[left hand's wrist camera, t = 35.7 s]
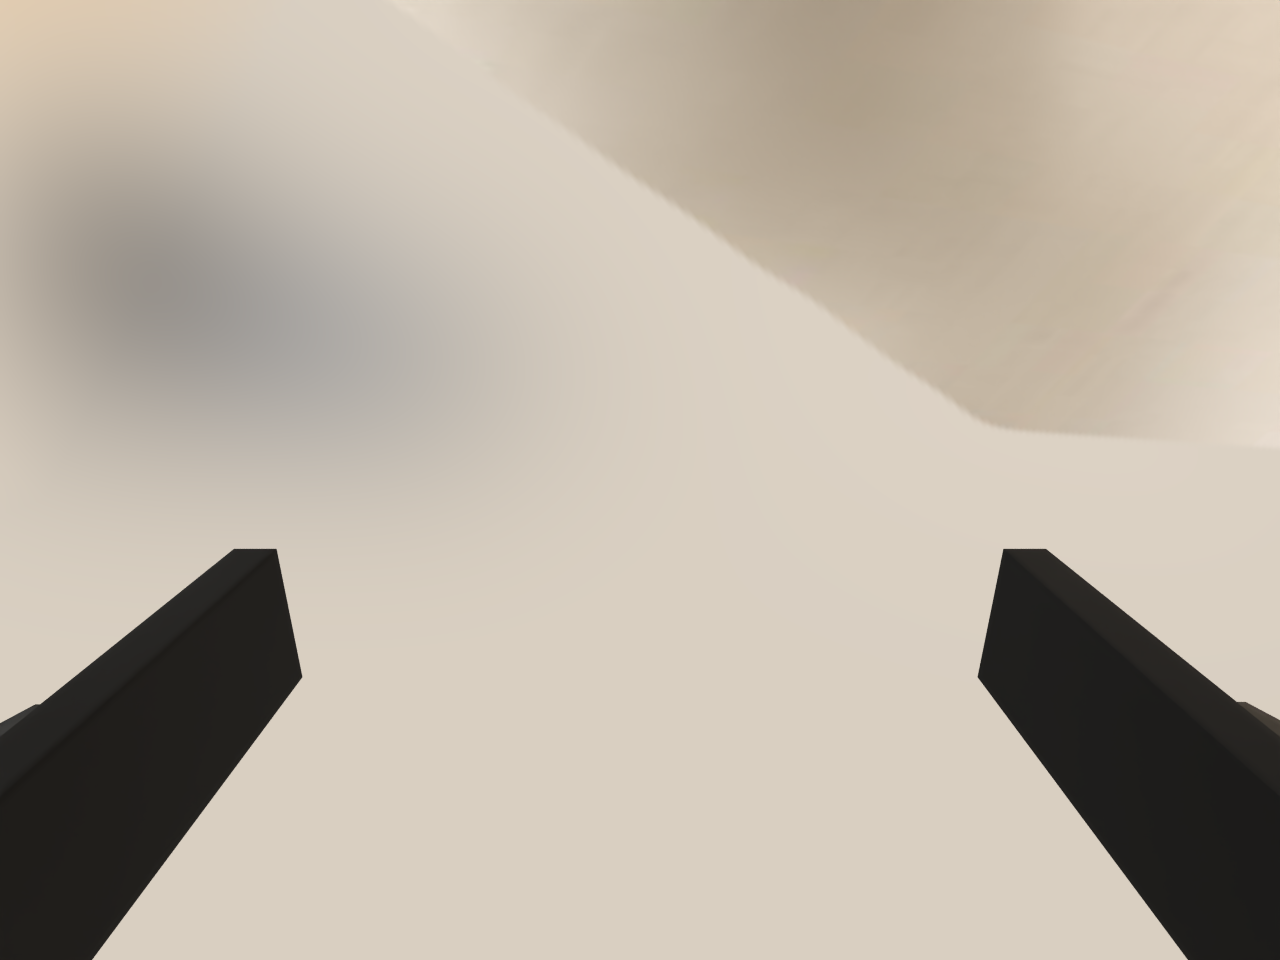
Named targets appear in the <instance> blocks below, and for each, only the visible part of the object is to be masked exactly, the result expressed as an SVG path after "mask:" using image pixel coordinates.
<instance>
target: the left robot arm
mask: <svg viewBox="0 0 1280 960" xmlns="http://www.w3.org/2000/svg"><path fill="white" fill-rule="evenodd" d="M301 678H302V673H301V668H300V663H299V658H298V653H297V648H296V643H295V638H294V633H293V628H292V624H291V619H290V613H289V609H288V604H287V599H286V594H285V589H284V584H283V579H282V574H281V569H280V564H279V559H278V554H277V549H233V550H232V551H231V552H230V553H228V554H227V555H226V556H225V557H223V558H222V559H221V560H220V561H218V562H217V563H216V564H215V565H213V566H212V567H211V568H210V569H208V570H207V571H206V572H205V573H204V574H202V575H201V576H200V577H198V578H197V579H196V580H195V581H194V582H192V583H191V584H190V585H189V586H187V587H186V588H185V589H184V590H182V591H181V592H180V593H179V594H177V595H176V596H175V597H174V598H172V599H171V600H170V601H169V602H167V603H166V604H165V605H164V606H162V607H161V608H160V609H159V610H157V611H156V612H155V613H154V614H152V615H151V616H150V617H149V618H147V619H146V620H145V621H144V622H142V623H141V624H140V625H139V626H137V627H136V628H135V629H134V630H133V631H131V632H130V633H129V634H127V635H126V636H125V637H124V638H122V639H121V640H120V641H119V642H118V643H116V644H115V645H114V646H113V647H111V648H110V649H109V650H108V651H106V652H105V653H104V654H103V655H101V656H100V657H99V658H98V659H96V660H95V661H94V662H93V663H91V664H90V665H89V666H88V667H86V668H85V669H84V670H83V671H81V672H80V673H79V674H78V675H76V676H75V677H74V678H73V679H71V680H70V681H69V682H68V683H66V684H65V685H64V686H63V687H61V688H60V689H59V690H58V691H56V692H55V693H54V694H53V695H52V696H50V697H49V698H48V699H46V700H45V701H44V702H43V703H41V704H40V705H33V706H32V707H30V708H28V709H26V710H24V711H22V712H20V713H18V714H17V715H15V716H13V717H11V718H9V719H7V720H5V721H4V722H2V723H0V960H92V959H93V958H94V956H95V955H96V954H97V952H98V951H99V950H100V948H101V947H102V946H103V944H104V943H105V942H106V940H107V939H108V938H109V936H110V935H111V934H112V932H113V931H114V930H115V928H116V927H117V926H118V924H119V923H120V921H121V920H122V919H123V917H124V916H125V915H126V913H127V912H128V911H129V909H130V908H131V907H132V905H133V904H134V903H135V901H136V900H137V899H138V897H139V896H140V895H141V893H142V892H143V890H144V889H145V888H146V887H147V885H148V884H149V883H150V881H151V880H152V878H153V877H154V876H155V874H156V873H157V872H158V870H159V869H160V868H161V866H162V865H163V864H164V862H165V861H166V860H167V858H168V857H169V856H170V854H171V853H172V852H173V850H174V849H175V848H176V846H177V845H178V843H179V842H180V841H181V839H182V838H183V837H184V835H185V834H186V833H187V831H188V830H189V829H190V827H191V826H192V825H193V823H194V822H195V821H196V819H197V818H198V817H199V815H200V814H201V813H202V811H203V810H204V809H205V807H206V806H207V804H208V803H209V802H210V801H211V799H212V798H213V796H214V795H215V794H216V792H217V791H218V790H219V788H220V787H221V786H222V784H223V783H224V782H225V780H226V779H227V778H228V776H229V775H230V774H231V772H232V771H233V770H234V768H235V767H236V766H237V764H238V763H239V762H240V760H241V759H242V758H243V756H244V755H245V753H246V752H247V751H248V749H249V748H250V747H251V745H252V744H253V743H254V741H255V740H256V739H257V737H258V736H259V735H260V733H261V732H262V731H263V729H264V728H265V727H266V725H267V724H268V723H269V721H270V720H271V719H272V717H273V716H274V714H275V713H276V712H277V710H278V709H279V708H280V706H281V705H282V704H283V702H284V701H285V700H286V698H287V697H288V696H289V694H290V693H291V692H292V690H293V689H294V688H295V686H296V685H297V684H298V682H299V681H300V679H301ZM978 678H979V680H980V681H981V682H982V684H983V685H984V686H985V688H986V689H987V690H988V692H989V693H990V694H991V696H992V697H993V698H994V700H995V701H996V702H997V704H998V705H999V706H1000V708H1001V709H1002V710H1003V712H1004V713H1005V714H1006V716H1007V717H1008V719H1009V720H1010V721H1011V723H1012V724H1013V725H1014V726H1015V728H1016V729H1017V731H1018V732H1019V733H1020V735H1021V736H1022V737H1023V739H1024V740H1025V741H1026V743H1027V744H1028V745H1029V747H1030V748H1031V749H1032V751H1033V752H1034V753H1035V755H1036V756H1037V757H1038V759H1039V760H1040V761H1041V763H1042V764H1043V765H1044V767H1045V768H1046V770H1047V771H1048V772H1049V774H1050V775H1051V776H1052V778H1053V779H1054V780H1055V782H1056V783H1057V784H1058V786H1059V787H1060V788H1061V790H1062V791H1063V792H1064V794H1065V795H1066V796H1067V798H1068V799H1069V800H1070V802H1071V803H1072V805H1073V806H1074V807H1075V809H1076V810H1077V811H1078V813H1079V814H1080V815H1081V817H1082V818H1083V819H1084V821H1085V822H1086V823H1087V825H1088V826H1089V827H1090V829H1091V830H1092V831H1093V833H1094V834H1095V835H1096V837H1097V838H1098V839H1099V841H1100V842H1101V844H1102V845H1103V846H1104V848H1105V849H1106V850H1107V852H1108V853H1109V854H1110V856H1111V857H1112V858H1113V860H1114V861H1115V862H1116V864H1117V865H1118V866H1119V868H1120V869H1121V870H1122V872H1123V873H1124V874H1125V876H1126V877H1127V878H1128V880H1129V881H1130V883H1131V884H1132V885H1133V887H1134V888H1135V889H1136V890H1137V892H1138V893H1139V895H1140V896H1141V897H1142V899H1143V900H1144V901H1145V903H1146V904H1147V905H1148V907H1149V908H1150V909H1151V911H1152V912H1153V913H1154V915H1155V916H1156V917H1157V919H1158V920H1159V921H1160V923H1161V924H1162V926H1163V927H1164V928H1165V930H1166V931H1167V932H1168V934H1169V935H1170V936H1171V938H1172V939H1173V940H1174V942H1175V943H1176V944H1177V946H1178V947H1179V948H1180V950H1181V951H1182V952H1183V954H1184V955H1185V956H1186V958H1187V959H1188V960H1280V720H1278V719H1277V718H1275V717H1273V716H1271V715H1269V714H1267V713H1265V712H1263V711H1262V710H1260V709H1258V708H1256V707H1254V706H1252V705H1250V704H1248V703H1246V702H1236V701H1235V700H1234V699H1232V698H1231V697H1230V696H1229V695H1227V694H1226V693H1225V692H1223V691H1222V690H1221V689H1220V688H1218V687H1217V686H1216V685H1215V684H1214V683H1212V682H1211V681H1210V680H1209V679H1207V678H1206V677H1205V676H1204V675H1202V674H1201V673H1200V672H1199V671H1197V670H1196V669H1195V668H1194V667H1192V666H1191V665H1190V664H1189V663H1187V662H1186V661H1185V660H1184V659H1182V658H1181V657H1180V656H1179V655H1177V654H1176V653H1175V652H1174V651H1172V650H1171V649H1170V648H1169V647H1167V646H1166V645H1165V644H1164V643H1163V642H1161V641H1160V640H1159V639H1158V638H1156V637H1155V636H1154V635H1153V634H1151V633H1150V632H1149V631H1148V630H1146V629H1145V628H1144V627H1143V626H1141V625H1140V624H1139V623H1138V622H1136V621H1135V620H1134V619H1133V618H1131V617H1130V616H1129V615H1127V614H1126V613H1125V612H1124V611H1123V610H1121V609H1120V608H1119V607H1118V606H1116V605H1115V604H1114V603H1113V602H1111V601H1110V600H1109V599H1108V598H1106V597H1105V596H1104V595H1103V594H1101V593H1100V592H1099V591H1098V590H1096V589H1095V588H1094V587H1093V586H1091V585H1090V584H1089V583H1088V582H1086V581H1085V580H1084V579H1083V578H1082V577H1080V576H1079V575H1078V574H1076V573H1075V572H1074V571H1073V570H1072V569H1070V568H1069V567H1068V566H1067V565H1065V564H1064V563H1063V562H1062V561H1060V560H1059V559H1058V558H1057V557H1055V556H1054V555H1053V554H1052V553H1050V552H1049V551H1048V550H1047V549H1003V554H1002V559H1001V564H1000V569H999V574H998V579H997V584H996V589H995V594H994V599H993V604H992V609H991V614H990V618H989V623H988V628H987V633H986V638H985V643H984V648H983V653H982V658H981V663H980V668H979V673H978Z"/></svg>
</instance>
